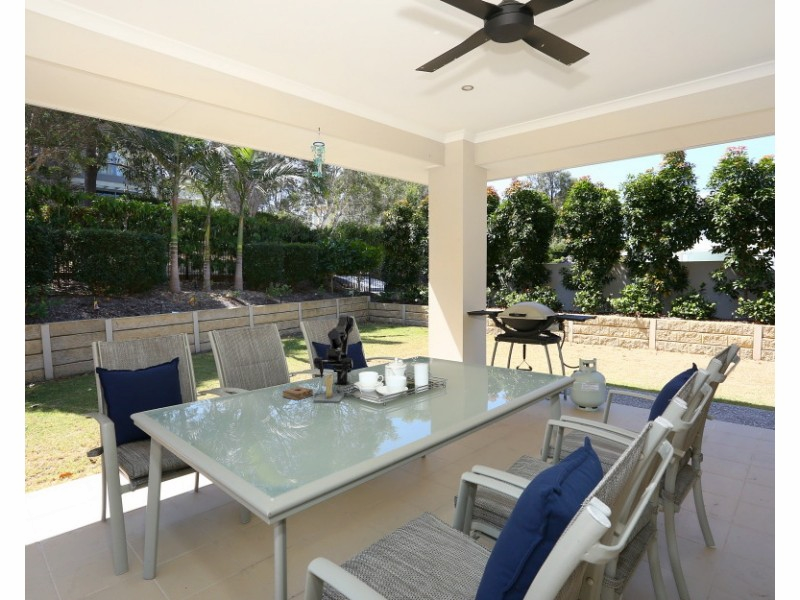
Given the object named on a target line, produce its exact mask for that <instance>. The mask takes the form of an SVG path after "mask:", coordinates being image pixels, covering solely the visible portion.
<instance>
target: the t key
mask: <svg viewBox="0 0 800 600" xmlns="http://www.w3.org/2000/svg"><path fill="white" fill-rule="evenodd" d="M324 384H325V393H326V398H331V397H332V394H333V384H334V374H327V375H326V376H325V383H324Z"/></svg>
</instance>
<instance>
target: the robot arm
mask: <svg viewBox="0 0 800 600" xmlns="http://www.w3.org/2000/svg"><path fill="white" fill-rule="evenodd" d="M354 327H355V319H354V317H351V316H350V315H348V314H341V315H339V318H338V322H337V324H336V327H333V328H332V329H331V330H330V331H328V332H327V338H328V341H329V345H330V348H326V359H327V360H326V359H325V360H324V359H323V357H314V359H313V365H314V367H315V368H316V369H318V370H319V374H320V379H323V377H324V370H325V368H324V366H325V365H329V366H330V365H331V366H332V370H333V373H336V381H335V382H334V384H335V385H347V384H349V383H350V380H348V374H349V373H351V372H352V369H353V368H354V362H353V359H352V358H350V357H349V356H348V347H349V340H350V333H352V331H353V329H354Z"/></svg>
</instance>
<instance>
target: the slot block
mask: <svg viewBox="0 0 800 600" xmlns="http://www.w3.org/2000/svg"><path fill="white" fill-rule="evenodd" d="M313 396H314V390H313V389H312V388H307V387H303V386H295V387H291V388H288V389H285V390H282V397H283V398H287V399H290V400H295V401H300V400H303V399H305V398H309V397H313Z"/></svg>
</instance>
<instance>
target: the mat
mask: <svg viewBox="0 0 800 600" xmlns="http://www.w3.org/2000/svg"><path fill="white" fill-rule="evenodd" d="M344 397H345V393H332V397H331V398H326V392H324V393H318V395H316V397H315V398H314V399H313V403H320V404H321V403H322V404H324V403H326V404H327V403H328V404H331V403H332V404H340V403H341V401H342V400H343V398H344Z"/></svg>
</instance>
